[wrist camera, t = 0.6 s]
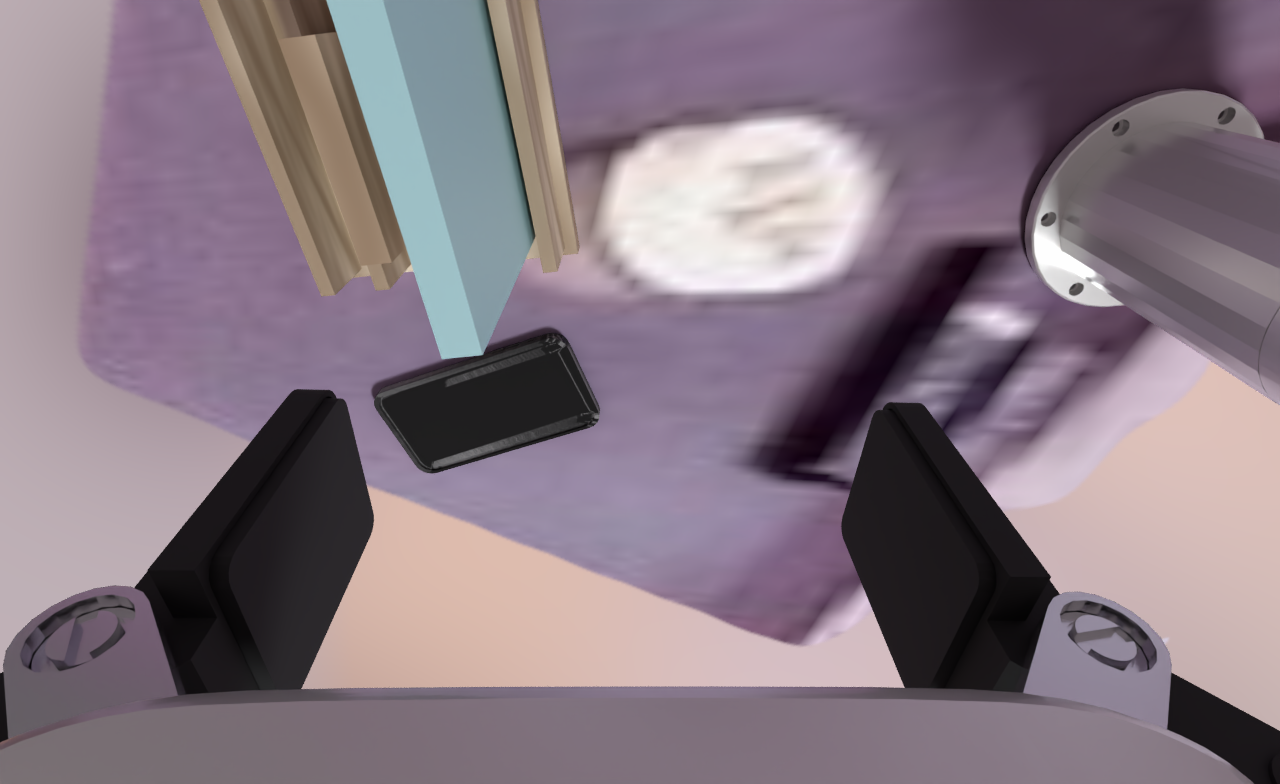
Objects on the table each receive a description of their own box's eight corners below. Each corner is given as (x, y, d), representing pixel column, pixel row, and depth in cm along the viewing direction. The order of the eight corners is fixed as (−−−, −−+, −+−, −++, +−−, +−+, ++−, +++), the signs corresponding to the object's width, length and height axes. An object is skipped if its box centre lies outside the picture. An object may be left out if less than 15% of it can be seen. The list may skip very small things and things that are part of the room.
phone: (604, 423, 46) (423, 476, 49) (604, 414, 47) (427, 467, 50) (560, 332, 42) (366, 396, 45) (562, 324, 43) (372, 387, 46)
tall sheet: (493, -14, 31) (378, -18, 18) (540, 224, 38) (482, 355, 24) (461, -9, 31) (323, -10, 18) (514, 227, 38) (441, 359, 24)
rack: (526, -67, 31) (507, -76, 27) (579, 246, 40) (571, 278, 35) (236, -25, 32) (171, -28, 28) (349, 271, 40) (313, 305, 36)
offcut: (375, 26, 32) (314, 34, 26) (431, 220, 37) (391, 262, 32) (345, 31, 32) (277, 39, 26) (405, 223, 38) (360, 265, 32)
